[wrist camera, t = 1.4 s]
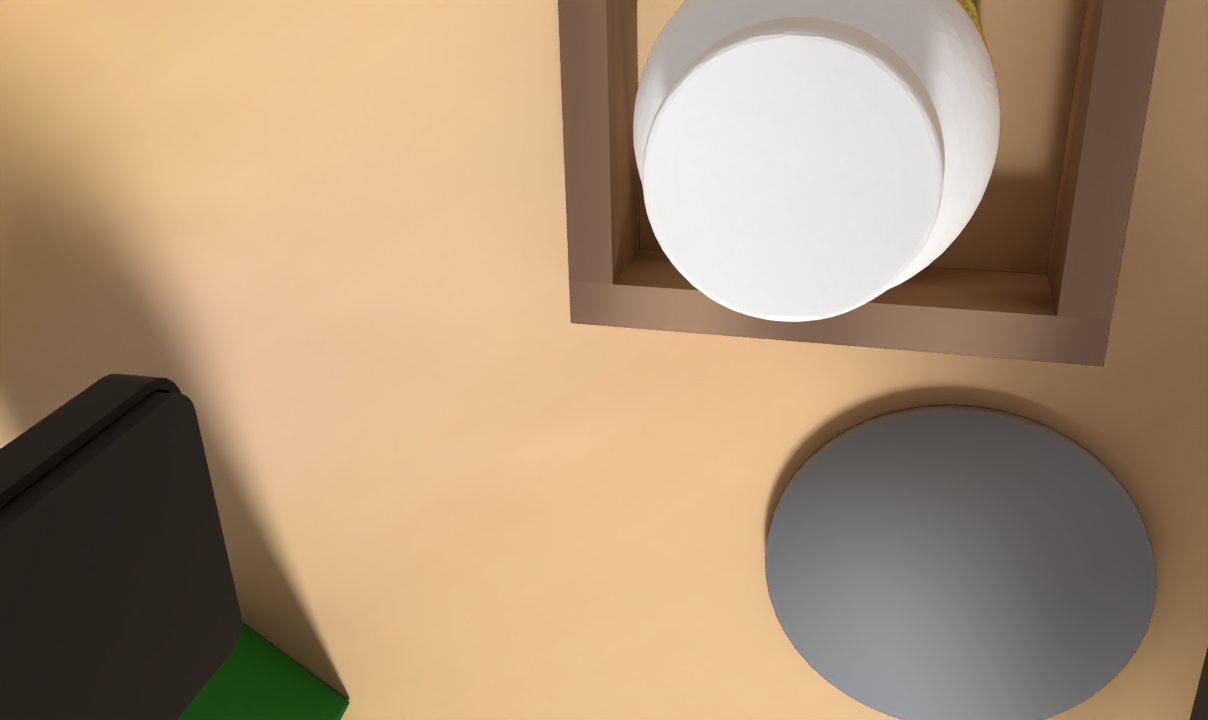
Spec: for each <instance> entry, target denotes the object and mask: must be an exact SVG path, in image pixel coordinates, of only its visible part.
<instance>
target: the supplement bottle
mask: <svg viewBox="0 0 1208 720" xmlns="http://www.w3.org/2000/svg"><path fill="white" fill-rule="evenodd" d="M999 134H1000V105H999V96H998V86H997V82H996V78H995V73H994V69H993V66H992V62H991V58H990V55H989V52H988V48H987V45H986V41H985V37H984V34H983V30H982V27H981V23H980V19H979V16H978V13H977V10H976V7H975V5H974V2H973V0H686V1H685V2H684V3H683V4H682V5H681V6H680V7H679V8H678V9H677V11H676V12H675V13H674V15H673V16H672V17H671V18H670V20H669V21H668V23H667V24H666V26H665V27H664V29H663V30H662V32H661V34H660V35H659V37H658V39H657V40H656V42H655V44H654V46H653V48H652V50H651V52H650V54H649V57H648V59H647V62H646V64H645V67H644V70H643V72H642V75H641V79H640V82H639V86H638V91H637V96H636V101H635V109H634V121H633V139H634V150H635V156H636V163H637V167H638V171H639V175H640V179H641V182H642V186H643V194H644V202H645V207H646V211H647V215H648V219H649V221H650V224H651V226H652V229H653V232H654V234H655V236H656V238H657V240H658V242H659V244H660V246H661V248H662V250H663V251H664V253H665V254H666V255H667V257H668V258H669V260H670V261H671V262H672V264H673V265H674V266H675V268H676V269H677V270H678V271H679V272H680V273H681V274H682V275H683V276H684V277H685V278H686V279H687V280H688V281H689V282H690V283H691V284H692V285H693V286H694V287H696V288H697V289H698V290H700V291H701V292H702V293H704V294H705V295H706V296H708V297H709V298H710V299H712V300H714V301H716V302H717V303H719V304H721V305H723V306H725V307H727V308H729V309H732V310H734V311H736V312H739V313H743V314H746V315H749V316H753V317H757V318H762V319H766V320H773V321H788V322H800V321H811V320H820V319H824V318H829V317H833V316H837V315H840V314H843V313H846V312H848V311H851V310H853V309H855V308H857V307H859V306H861V305H863V304H865V303H867V302H869V301H871V300H872V299H874V298H876V297H877V296H879V295H880V294H882V293H883V292H885V291H886V290H888V289H890V288H892V287H895V286H897V285H899V284H901V283H903V282H904V281H906V280H908V279H909V278H911V277H913V276H914V275H915V274H917V273H918V272H920V271H921V270H923V269H924V268H925V267H927V266H928V265H929V264H930V263H931V262H933V261H934V260H935V259H936V258H937V257H939V256H940V255H941V254H942V253H943V252H944V251H945V250H946V249H947V248H948V247H949V245H950V244H951V243H952V242H953V241H954V240H955V239H956V238H957V236H958V235H959V234H960V233H961V231H962V230H963V229H964V227H965V226H966V225H967V223H968V222H969V220H970V219H971V217H972V216H973V214H974V212H975V210H976V209H977V207H978V205H979V203H980V201H981V199H982V197H983V195H984V192H985V190H986V187H987V185H988V182H989V179H990V176H991V173H992V170H993V166H994V163H995V159H996V155H997V150H998V145H999Z"/></svg>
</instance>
